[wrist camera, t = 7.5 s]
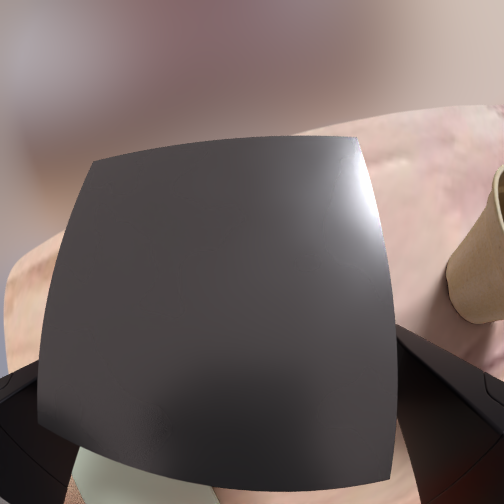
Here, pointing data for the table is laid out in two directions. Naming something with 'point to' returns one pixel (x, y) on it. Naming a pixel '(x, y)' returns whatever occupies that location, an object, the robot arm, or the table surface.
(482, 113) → the table surface
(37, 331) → the table surface
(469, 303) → the flower pot
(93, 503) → the rubber mat
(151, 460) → the dark grey square block
